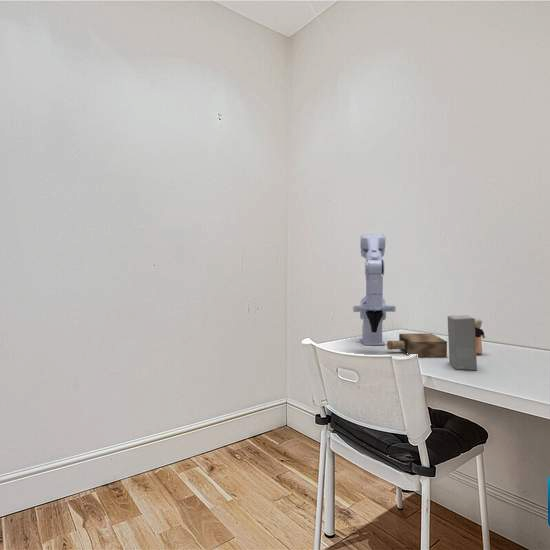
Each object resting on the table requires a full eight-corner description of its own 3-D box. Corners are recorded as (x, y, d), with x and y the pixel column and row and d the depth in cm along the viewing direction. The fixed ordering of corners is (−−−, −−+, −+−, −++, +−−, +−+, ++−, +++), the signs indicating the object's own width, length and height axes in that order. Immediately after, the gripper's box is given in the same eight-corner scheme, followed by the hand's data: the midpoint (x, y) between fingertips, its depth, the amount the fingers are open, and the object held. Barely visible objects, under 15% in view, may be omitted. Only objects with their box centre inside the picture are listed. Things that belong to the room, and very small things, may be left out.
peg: (389, 350, 145) (389, 341, 145) (386, 348, 148) (386, 339, 148) (423, 350, 145) (423, 341, 144) (420, 348, 148) (420, 339, 148)
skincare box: (477, 370, 123) (478, 318, 123) (452, 369, 125) (452, 318, 124) (469, 363, 132) (470, 314, 131) (446, 362, 133) (446, 313, 132)
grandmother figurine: (475, 357, 140) (476, 319, 139) (464, 354, 143) (465, 318, 142) (488, 353, 144) (489, 317, 143) (477, 351, 147) (478, 316, 146)
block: (409, 357, 139) (409, 341, 139) (397, 347, 153) (397, 333, 153) (446, 357, 139) (447, 341, 139) (431, 347, 153) (431, 333, 153)
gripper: (355, 295, 141) (355, 334, 142) (398, 294, 141) (397, 334, 142) (352, 293, 148) (352, 330, 149) (392, 292, 148) (392, 330, 149)
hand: (374, 331), depth 146 cm, fingers closed
